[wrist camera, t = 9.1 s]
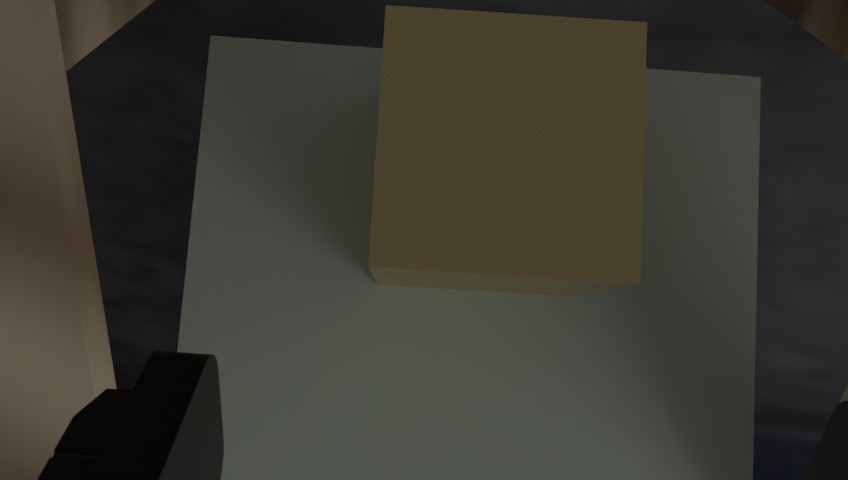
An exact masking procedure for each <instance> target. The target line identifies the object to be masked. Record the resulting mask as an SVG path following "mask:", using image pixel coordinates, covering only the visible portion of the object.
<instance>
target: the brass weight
mask: <svg viewBox="0 0 848 480" xmlns="http://www.w3.org/2000/svg"><path fill="white" fill-rule="evenodd" d="M646 48H647V22H636V21H620V20H605V19H590V18H575V17H560V16H544V15H529V14H514V13H499V12H483V11H468V10H453V9H438V8H423V7H407V6H392V5H386V8H385V23H384V38H383V53H382V68H381V83H380V98H379V113H378V127H377V142H376V157H375V172H374V187H373V202H372V217H371V232H370V247H369V262H368V268H369V270H370V271H371V273H372V275H373V277H374V279H375V281H376V283H377V285H394V286H410V287H427V288H444V289H460V290H477V291H494V292H510V293H527V294H544V295H560V296H577V297H582V296H587V295H591V294H596V293H600V292H604V291H609V290H613V289H618V288H622V287H627V286H631V285H635V284H640V277H641V239H642V201H643V162H644V124H645V86H646Z"/></svg>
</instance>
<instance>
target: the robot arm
mask: <svg viewBox="0 0 848 480" xmlns="http://www.w3.org/2000/svg"><path fill="white" fill-rule="evenodd" d="M223 456H224V437H223V424H222V411H221V398H220V385H219V372H218V363H217V359H216V357H215V355H212V354H198V353H183V352H169V351H155V352H153V353H152V354H151V356H150V357H149V359H148V361H147V363H146V365H145V367H144V369H143V371H142V373H141V375H140V377H139V379H138V381H137V383H136V385H135V387H134V389H133V390H122V389H108V388H107V389H106V390H104V391H103V392H102V393H101V394H100V395H98V396H97V397H96V398H95V399H94V400H92V401H91V402H90V403H89V404H88V405H86V406H85V407H84V408H83V409H82V410H80V411H79V412H78V413H77V414H76V415H74V416H73V418H72V420H71V421H70V423H69V425H68V427H67V428H66V430H65V432H64V434H63V435H62V437H61V439H60V441H59V442H58V444H57V446H56V448H55V449H54V455H53V457H50V458H49V460H48V462H47V463H46V465H45V467H44V468H43V470H42V472H41V474H40V475H39V477H38V480H220V479H221V473H222V466H223ZM803 480H848V401H843V402H841V403H839V404H838V405H837V406H836V407H835V409H834V410H833V412H832V414H831V416H830V419H829V421H828V423H827V425H826V428H825V430H824V432H823V435H822V437H821V439H820V442H819V444H818V446H817V449H816V451H815V453H814V455H813V458H812V460H811V462H810V465H809V467H808V469H807V472H806V474H805V476H804V478H803Z"/></svg>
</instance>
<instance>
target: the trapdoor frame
mask: <svg viewBox="0 0 848 480" xmlns="http://www.w3.org/2000/svg"><path fill="white" fill-rule="evenodd" d="M154 1H155V0H0V480H38V477H39V475H40V474H41V472H42V470H43V468H44V467H45V465H46V463H47V462H48V460H49V458H50V457H53V455H54V449H55V448H56V446H57V444H58V442H59V441H60V439H61V437H62V435H63V434H64V432H65V430H66V428H67V427H68V425H69V423H70V421H71V420H72V418H73V416H74V415H76V414H77V413H78V412H79V411H80V410H82V409H83V408H84V407H85V406H86V405H88V404H89V403H90V402H91V401H92V400H94V399H95V398H96V397H97V396H98V395H100V394H101V393H102V392H103V391H104V390H106V389H107V388H108V389H117V388H116V382H115V376H114V369H113V363H112V357H111V351H110V344H109V338H108V332H107V326H106V320H105V313H104V307H103V301H102V295H101V289H100V282H99V276H98V270H97V264H96V257H95V251H94V245H93V239H92V233H91V226H90V220H89V214H88V208H87V201H86V195H85V189H84V183H83V177H82V170H81V164H80V158H79V152H78V146H77V139H76V133H75V127H74V121H73V114H72V108H71V102H70V96H69V90H68V83H67V77H66V71H68V70H69V69H70V68H71V67H73V66H74V65H75V64H76V63H78V62H79V61H80V60H81V59H83V58H84V57H85V56H86V55H88V54H89V53H90V52H91V51H92V50H94V49H95V48H96V47H97V46H99V45H100V44H101V43H102V42H104V41H105V40H106V39H107V38H109V37H110V36H111V35H112V34H114V33H115V32H116V31H117V30H119V29H120V28H121V27H122V26H124V25H125V24H126V23H127V22H129V21H130V20H131V19H132V18H134V17H135V16H136V15H137V14H139V13H140V12H141V11H142V10H144V9H145V8H146V7H147V6H149V5H150V4H151V3H152V2H154ZM765 1H767V2H768V3H770V4H771V5H772V6H774V7H775V8H776V9H778V10H779V11H781V12H782V13H783V14H785V15H786V16H787V17H789V18H790V19H792V20H793V21H794V22H796V23H797V24H798V25H800V26H801V27H803V28H804V29H805V30H807V31H808V32H809V33H811V34H812V35H813V36H815V37H816V38H818V39H819V40H820V41H822V42H823V43H824V44H826V45H827V46H829V47H830V48H831V49H833V50H834V51H835V52H837V53H838V54H840V55H841V56H842V57H844V58H845V59H846V60H848V0H765ZM843 401H848V384H847V387H846V389H845V391H844V394H843V396H842V398H841V400H840V403H841V402H843Z"/></svg>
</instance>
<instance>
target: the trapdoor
mask: <svg viewBox="0 0 848 480" xmlns="http://www.w3.org/2000/svg"><path fill="white" fill-rule="evenodd" d="M382 53H383V49H382V48H369V47H356V46H343V45H329V44H316V43H303V42H290V41H277V40H263V39H250V38H237V37H224V36H211V37H210V46H209V56H208V65H207V74H206V84H205V93H204V103H203V112H202V122H201V131H200V141H199V150H198V159H197V169H196V178H195V188H194V197H193V207H192V216H191V226H190V235H189V245H188V254H187V263H186V273H185V282H184V292H183V301H182V311H181V320H180V330H179V339H178V348H177V352H183V353H198V354H212V355H215V357H216V359H217V363H218V372H219V385H220V398H221V411H222V424H223V437H224V456H223V466H222V473H221V479H220V480H753V442H754V392H755V342H756V293H757V243H758V193H759V143H760V94H761V77H752V76H739V75H725V74H712V73H699V72H686V71H673V70H659V69H646V86H645V124H644V162H643V201H642V239H641V277H640V284H635V285H631V286H627V287H622V288H618V289H613V290H609V291H604V292H600V293H596V294H591V295H587V296H582V297H577V296H560V295H544V294H527V293H510V292H494V291H477V290H460V289H444V288H427V287H410V286H394V285H377V283H376V281H375V279H374V277H373V275H372V273H371V271H370V270H369V268H368V262H369V247H370V232H371V217H372V202H373V187H374V172H375V157H376V142H377V127H378V113H379V98H380V83H381V68H382Z"/></svg>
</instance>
